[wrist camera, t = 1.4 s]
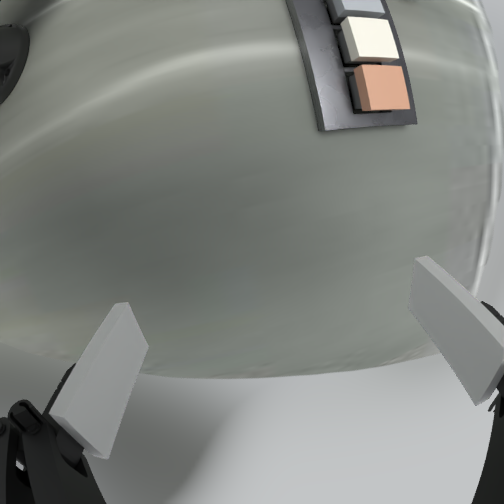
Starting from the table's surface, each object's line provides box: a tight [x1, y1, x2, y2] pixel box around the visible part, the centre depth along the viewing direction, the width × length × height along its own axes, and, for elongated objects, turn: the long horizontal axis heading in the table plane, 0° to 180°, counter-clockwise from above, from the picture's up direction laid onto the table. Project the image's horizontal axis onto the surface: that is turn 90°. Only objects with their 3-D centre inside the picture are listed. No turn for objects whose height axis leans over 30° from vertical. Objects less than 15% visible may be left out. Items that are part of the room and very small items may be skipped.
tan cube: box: [348, 65, 410, 111], centre depth 23 cm, size 5×5×5 cm
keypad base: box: [286, 0, 417, 131], centre depth 24 cm, size 19×12×3 cm, turn 12°
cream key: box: [337, 17, 399, 64], centre depth 21 cm, size 5×5×5 cm
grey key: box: [325, 0, 385, 23], centre depth 18 cm, size 5×5×5 cm
